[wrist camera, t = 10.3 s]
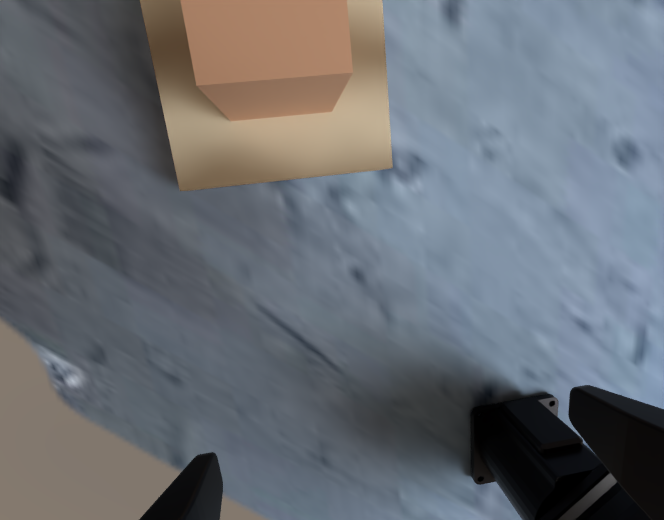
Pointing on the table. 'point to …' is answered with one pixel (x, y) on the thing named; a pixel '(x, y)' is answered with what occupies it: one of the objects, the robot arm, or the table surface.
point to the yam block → (269, 55)
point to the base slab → (276, 132)
